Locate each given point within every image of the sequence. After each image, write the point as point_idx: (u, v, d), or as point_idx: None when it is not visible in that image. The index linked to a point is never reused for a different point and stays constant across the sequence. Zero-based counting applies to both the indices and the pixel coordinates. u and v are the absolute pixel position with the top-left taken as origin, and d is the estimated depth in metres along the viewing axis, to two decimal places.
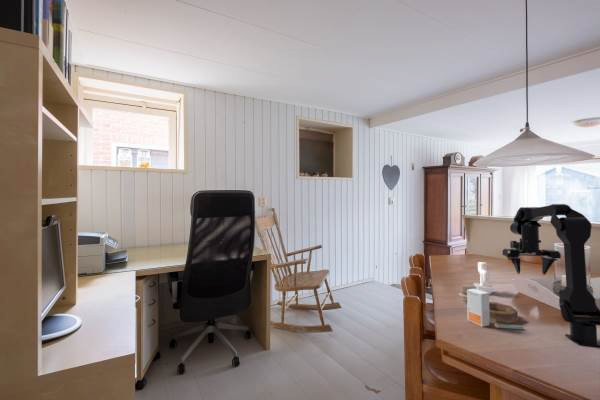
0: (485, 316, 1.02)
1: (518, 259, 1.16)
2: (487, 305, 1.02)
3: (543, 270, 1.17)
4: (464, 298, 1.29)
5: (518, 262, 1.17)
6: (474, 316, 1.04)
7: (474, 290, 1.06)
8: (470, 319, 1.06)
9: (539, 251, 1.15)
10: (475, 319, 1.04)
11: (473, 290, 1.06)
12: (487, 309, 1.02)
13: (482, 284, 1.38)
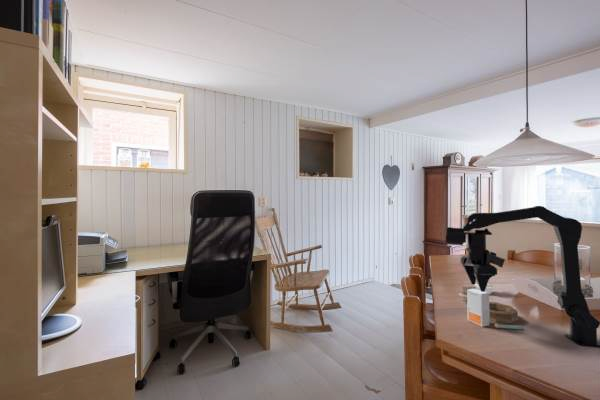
0: (485, 316, 1.02)
1: (463, 266, 1.12)
2: (487, 305, 1.02)
3: None
4: (464, 298, 1.29)
5: (465, 270, 1.11)
6: (474, 316, 1.04)
7: (474, 290, 1.06)
8: (470, 319, 1.06)
9: (470, 261, 1.04)
10: (475, 319, 1.04)
11: (473, 290, 1.06)
12: (487, 309, 1.02)
13: None
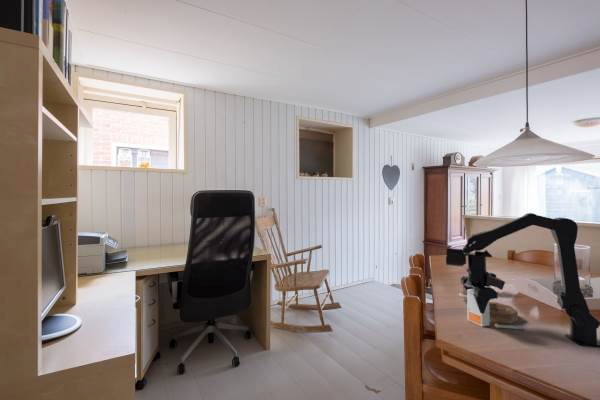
0: (485, 316, 1.02)
1: (464, 287, 1.10)
2: (487, 305, 1.02)
3: None
4: (464, 298, 1.29)
5: (466, 291, 1.10)
6: (474, 316, 1.04)
7: None
8: (470, 319, 1.06)
9: (470, 283, 1.04)
10: (475, 319, 1.04)
11: (473, 290, 1.06)
12: (487, 309, 1.02)
13: None
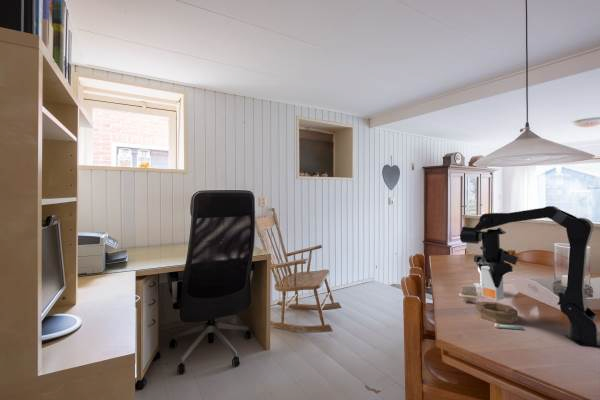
0: (499, 290, 1.07)
1: (478, 265, 1.15)
2: (501, 280, 1.07)
3: None
4: (464, 298, 1.28)
5: (480, 268, 1.15)
6: (489, 291, 1.09)
7: (488, 266, 1.10)
8: (484, 294, 1.10)
9: (485, 260, 1.09)
10: (489, 294, 1.08)
11: (487, 266, 1.10)
12: (501, 284, 1.07)
13: None
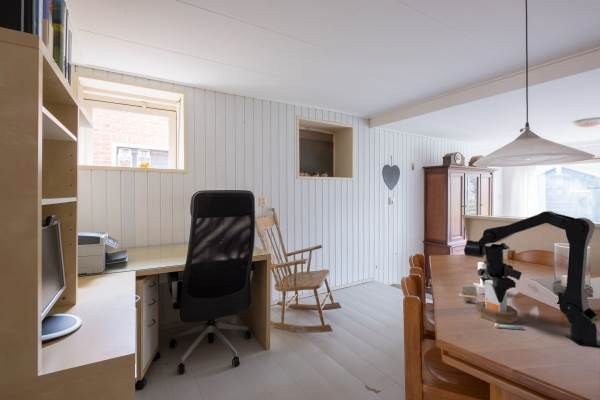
0: (503, 305, 1.08)
1: (482, 279, 1.16)
2: None
3: None
4: (464, 298, 1.28)
5: (483, 282, 1.16)
6: (492, 305, 1.10)
7: (492, 281, 1.11)
8: (488, 308, 1.11)
9: (488, 274, 1.10)
10: (493, 308, 1.09)
11: (491, 281, 1.11)
12: (505, 298, 1.08)
13: (482, 284, 1.38)
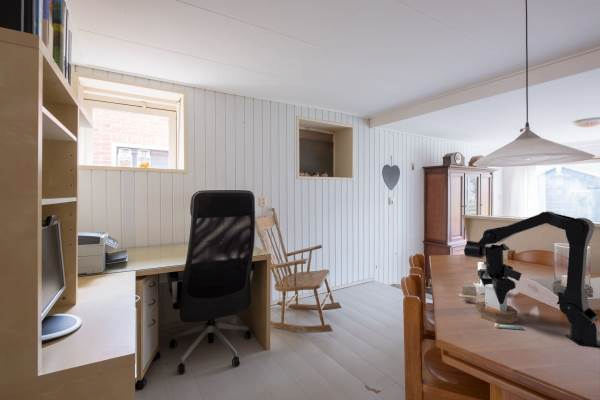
0: (503, 310, 1.08)
1: (481, 279, 1.17)
2: (505, 299, 1.08)
3: None
4: (464, 298, 1.28)
5: (482, 282, 1.17)
6: None
7: (492, 285, 1.11)
8: None
9: (488, 275, 1.10)
10: None
11: (491, 285, 1.11)
12: (505, 303, 1.08)
13: (482, 284, 1.38)
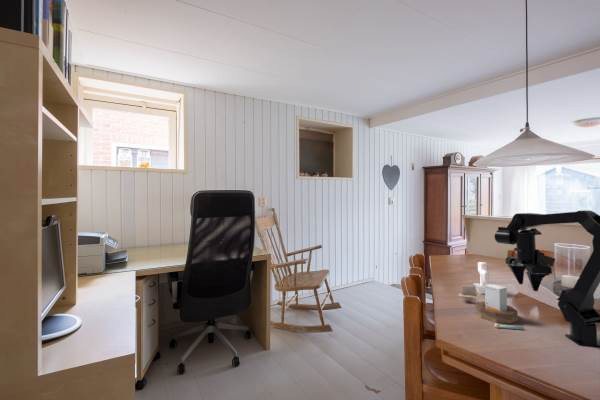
0: (503, 310, 1.08)
1: (510, 267, 1.12)
2: (505, 299, 1.08)
3: None
4: (464, 298, 1.28)
5: (512, 270, 1.12)
6: None
7: (492, 285, 1.11)
8: None
9: (520, 261, 1.05)
10: None
11: (491, 285, 1.11)
12: (505, 303, 1.08)
13: (482, 284, 1.38)
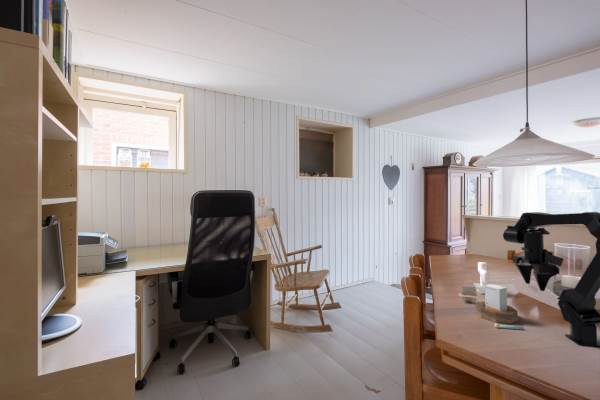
0: (503, 310, 1.08)
1: (517, 266, 1.11)
2: (505, 299, 1.08)
3: None
4: (463, 298, 1.28)
5: (519, 269, 1.11)
6: None
7: (492, 285, 1.11)
8: None
9: (527, 261, 1.04)
10: None
11: (491, 285, 1.11)
12: (505, 303, 1.08)
13: (482, 284, 1.38)
